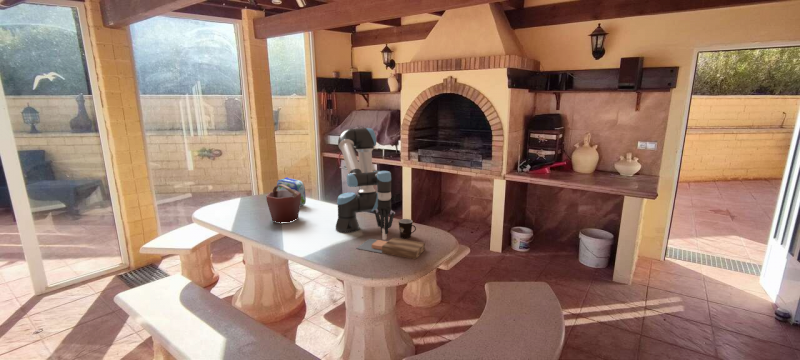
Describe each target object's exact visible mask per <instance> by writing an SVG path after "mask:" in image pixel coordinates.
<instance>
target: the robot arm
mask: <svg viewBox="0 0 800 360" xmlns="http://www.w3.org/2000/svg"><path fill="white" fill-rule="evenodd" d="M337 144H338V145H337V146H338V148H339V150H340V151H341V153H342V156H343V160H344V162H345V163H344V164H345V166H346V170H347V172H348V174H346V178H345V179H346V184H347V187H349V188H352V187H353V188H357V187H359V190H358V191H357V193H358V194H356V193H355V192H352V191H351V192H348V191H347V192H345V193H341V194H339V195H338V197H337V201H336V202H337V203H336V204H337V220H336V224H335V231H337V232H338V231H339V233H347V234H348V233H354V232H357V231H358V230H359V229H360V224H359V221H358V219H357V213H366V212H373V213H374V215H375V219H376V224H377V228H378V227H379V228H380V233H381V234H382V238H381V239H382V241H386V240H387V239H388V236H387V235H388V234H389V229H390V228H391V227H392V225H393V221H394V217H395V214H396V211H394V210H393V209H392V199H391V198H392V173H391V171H388V170H374V171H373V155H372V153H373V150H374V148H375V147H376V145H377V136H376V132H375V131H374V129H373V128H371V127H370V128H367V127H362V128H360V127H359V128H358V127H357V128H346V129H345V130H344V131H342V132H341V133H340V135H339V136H338V139H337ZM355 150H356V151H355ZM356 152H357V153H358V156H357V154H356ZM374 186H377V190H376V189H375V188H374Z"/></svg>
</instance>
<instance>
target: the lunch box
mask: <svg viewBox="0 0 800 360" xmlns="http://www.w3.org/2000/svg"><path fill="white" fill-rule="evenodd" d="M280 184H283V185H286V186H288V187H289V188H291V189H292V190H296V191H298V192H299V193H301V202H300V207H301V206H304V205H305V204H306V201H307V199H306V198H307V197H306V189H305V184H304V183H303V181H302V180H299V179H295V178H290V177H288V176H287V177H284V178H282V179H278V180H277V182H276V185H280ZM280 190H287V189H285V188H284V187H282V186H279V187H278V188H277V191H280Z"/></svg>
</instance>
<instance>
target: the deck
mask: <svg viewBox="0 0 800 360" xmlns="http://www.w3.org/2000/svg"><path fill="white" fill-rule="evenodd" d="M425 250H426V242H421V241H415V240H410V239H405V238H399V237H392V238H391V239H389V240H388V241H387V243H385V244H384V245H383V246H382V253H381V254H387V255H393V256H398V257H401V258H408V259H413V260H416V259H417V258H419V257H420V255H422V253H423V252H424V251H425Z"/></svg>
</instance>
